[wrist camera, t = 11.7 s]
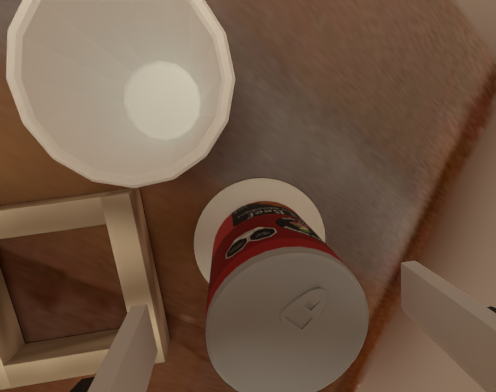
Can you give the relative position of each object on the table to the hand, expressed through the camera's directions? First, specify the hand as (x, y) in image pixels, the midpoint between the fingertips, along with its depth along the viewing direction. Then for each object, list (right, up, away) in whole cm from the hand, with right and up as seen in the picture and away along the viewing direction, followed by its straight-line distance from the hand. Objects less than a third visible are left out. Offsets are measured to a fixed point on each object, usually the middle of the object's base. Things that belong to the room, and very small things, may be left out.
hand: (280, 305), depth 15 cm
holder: (-16, -1, +9) cm, 19 cm away
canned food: (-1, +2, +9) cm, 10 cm away
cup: (-8, +13, +7) cm, 17 cm away
